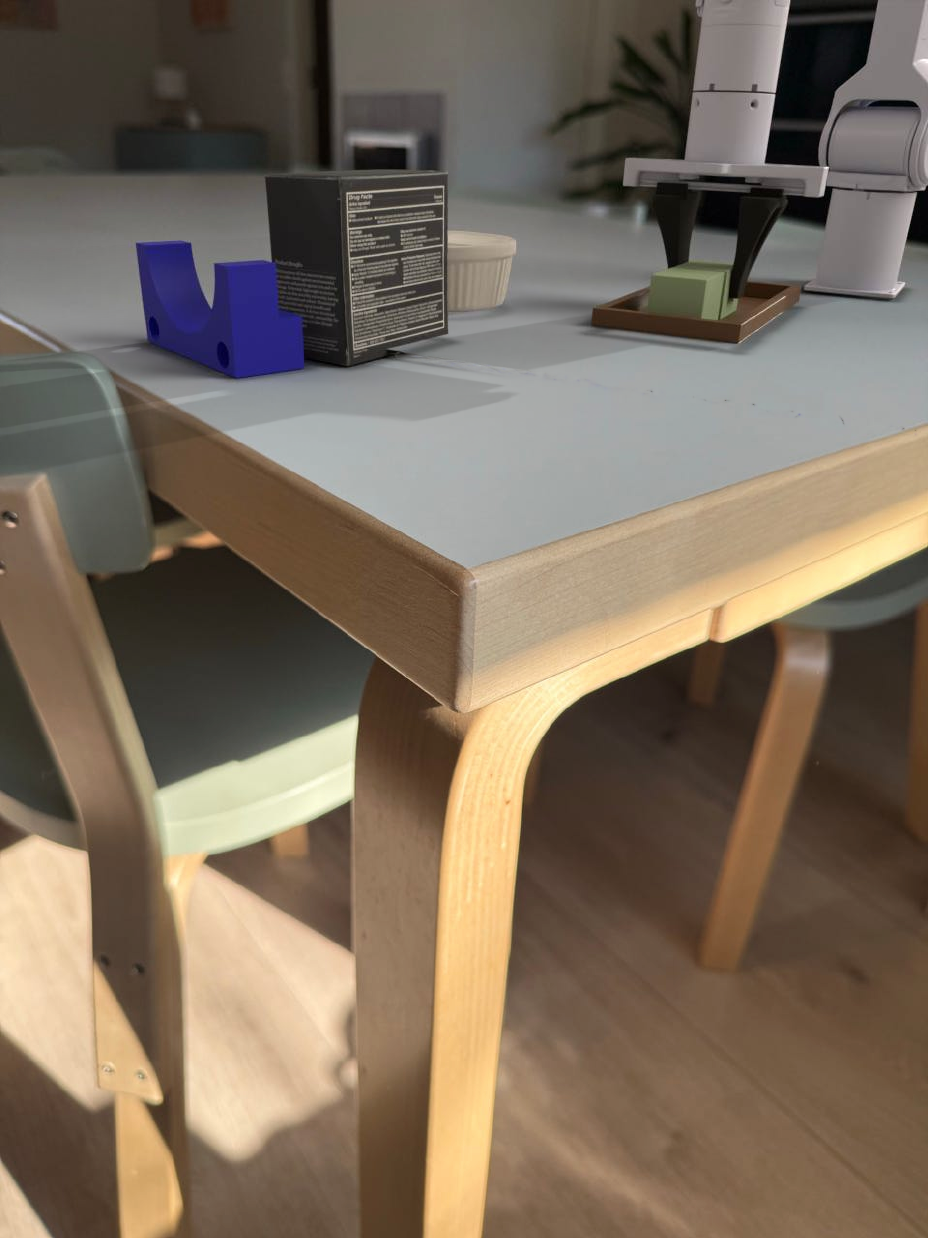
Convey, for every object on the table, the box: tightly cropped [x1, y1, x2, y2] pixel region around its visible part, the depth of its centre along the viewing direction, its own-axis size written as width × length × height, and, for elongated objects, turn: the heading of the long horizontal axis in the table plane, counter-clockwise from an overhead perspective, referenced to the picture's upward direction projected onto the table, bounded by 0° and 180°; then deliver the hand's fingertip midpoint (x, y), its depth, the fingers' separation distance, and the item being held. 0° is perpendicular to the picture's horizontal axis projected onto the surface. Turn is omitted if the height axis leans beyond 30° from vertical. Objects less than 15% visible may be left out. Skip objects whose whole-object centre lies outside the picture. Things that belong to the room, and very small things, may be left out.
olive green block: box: [675, 259, 738, 320], centre depth 73 cm, size 5×4×4 cm
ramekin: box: [447, 230, 517, 312], centre depth 75 cm, size 11×11×5 cm
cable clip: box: [135, 240, 305, 379], centre depth 58 cm, size 12×4×6 cm, turn 40°
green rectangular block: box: [647, 267, 725, 320], centre depth 69 cm, size 5×4×4 cm
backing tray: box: [590, 280, 802, 345], centre depth 74 cm, size 22×11×2 cm, turn 152°
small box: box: [264, 169, 449, 367], centre depth 60 cm, size 11×6×10 cm, turn 145°
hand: (705, 293), depth 74 cm, fingers closed on olive green block, 4 cm apart
